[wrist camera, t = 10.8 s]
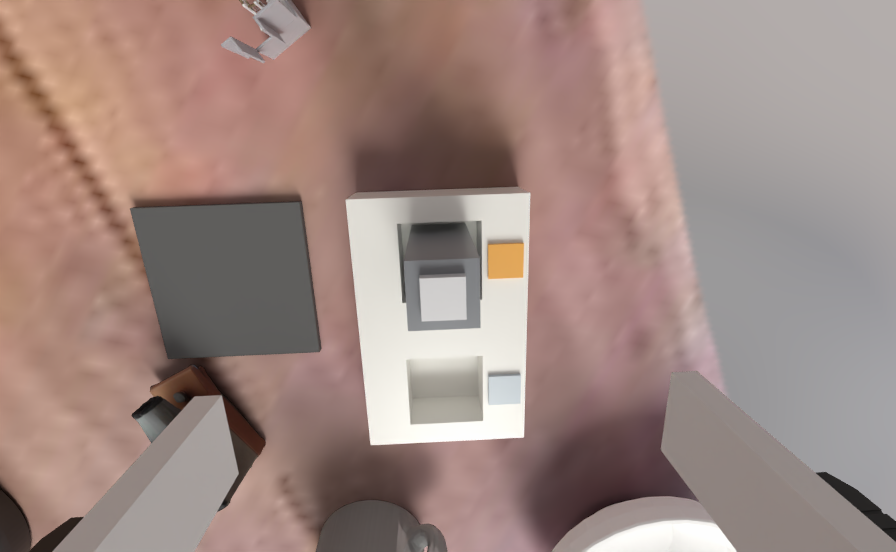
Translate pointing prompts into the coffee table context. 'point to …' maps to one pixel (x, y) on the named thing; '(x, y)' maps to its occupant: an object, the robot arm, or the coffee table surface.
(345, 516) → the coffee mug
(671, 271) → the coffee table surface
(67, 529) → the robot arm
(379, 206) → the socket block
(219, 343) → the mat
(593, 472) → the coffee table surface
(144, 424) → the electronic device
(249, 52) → the architectural model
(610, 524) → the bowl
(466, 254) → the plug
